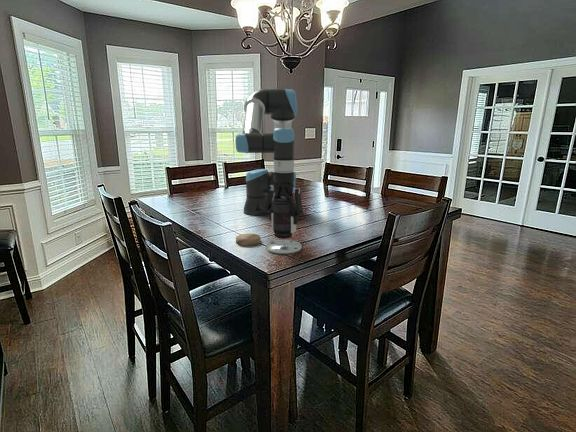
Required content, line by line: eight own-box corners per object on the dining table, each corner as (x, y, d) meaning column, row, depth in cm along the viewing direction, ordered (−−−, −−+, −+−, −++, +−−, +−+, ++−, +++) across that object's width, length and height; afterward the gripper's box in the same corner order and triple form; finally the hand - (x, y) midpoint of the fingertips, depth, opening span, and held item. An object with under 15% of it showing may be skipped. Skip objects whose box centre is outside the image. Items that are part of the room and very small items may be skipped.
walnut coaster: (230, 244, 138) (230, 238, 137) (246, 237, 146) (246, 232, 146) (250, 248, 133) (250, 242, 132) (265, 241, 141) (265, 236, 140)
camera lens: (293, 232, 136) (293, 195, 132) (294, 239, 128) (294, 200, 124) (273, 232, 135) (272, 195, 132) (272, 239, 128) (272, 200, 124)
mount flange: (258, 249, 131) (258, 247, 130) (278, 239, 142) (278, 237, 142) (289, 257, 124) (289, 254, 123) (308, 246, 135) (308, 243, 135)
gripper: (254, 170, 127) (256, 228, 133) (303, 174, 117) (302, 237, 123) (266, 168, 134) (267, 223, 139) (313, 172, 123) (312, 232, 129)
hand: (283, 230), depth 131 cm, fingers closed on camera lens, 8 cm apart
